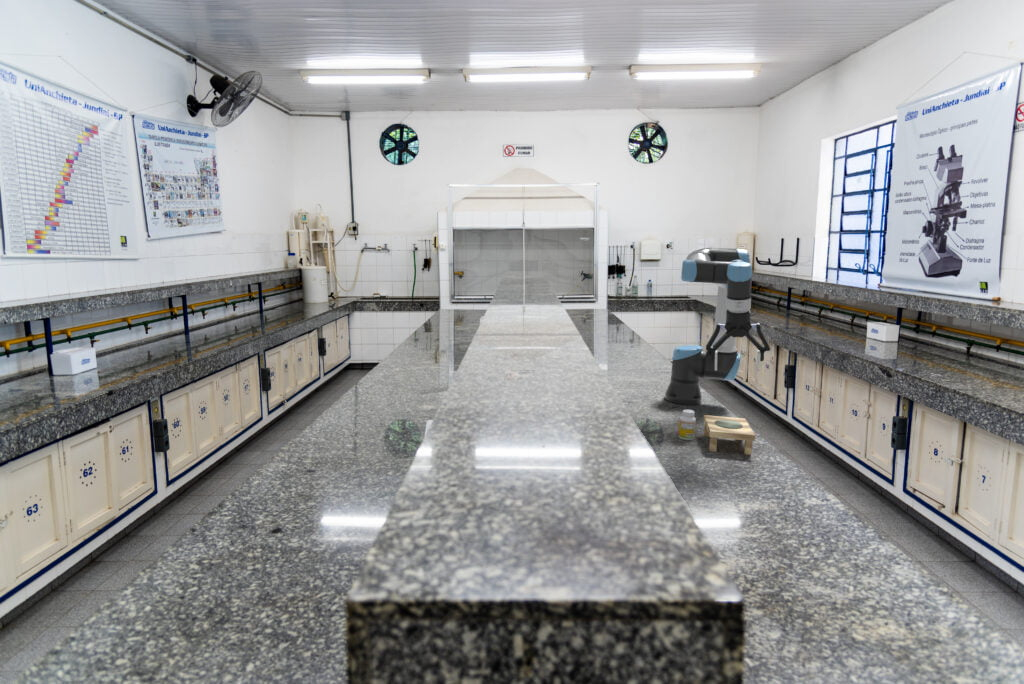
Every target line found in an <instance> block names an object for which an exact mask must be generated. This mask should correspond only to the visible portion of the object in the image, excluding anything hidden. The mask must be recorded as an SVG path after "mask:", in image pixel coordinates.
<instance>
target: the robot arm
mask: <svg viewBox="0 0 1024 684" xmlns="http://www.w3.org/2000/svg"><path fill="white" fill-rule="evenodd" d="M750 256H751V255H750V252H749V251H748V249H747V250H746V249H741V248H727V247H726V248H724V247H720V248H719V247H703V248H699V249H697V250H694V251H692V252H691V253H689V254H688V255H687V256H686V259H684V260H682V265H681V275H680V280H681V281H683V282H688V283H706V284H708V283H709V284H716V285H717V287H718V288H717V297H716V304H715V305H716V306H715V316H714V323H713V324H714V326H713V332H712V335H711V336H710V338H709V340H708V342H707V343H706V345H705V350H704V349H703V347H702V346H701V345H690V344H688V345H681V346H678V347H675V348H674V349H673V351H672V358H671V360H672V363H671V374H670V381H669V383H668V386H667V388H666V390H665V393H664V399H665V400H666V401H668V402H671V403H675V404H678V405H689V406H690V405H691V406H692V405H693V406H694V405H700V404H701V403H702V401H703V398H702V397H703V396H702V391H701V387H700V378H702V379H709V380H720V381H733V380H735V378H736V377H737V375H738V372H739V369H740V365H741V357H742V355H741V353H739V352H738V348H737V347H736V345H735V342H736V338H744V337H746V338H747V340H749V341H750V342H751V343H752V344H753V345H754V347H755V348H756V349H758V350H757V351H756V353H757V354H756V355H757V356H756V370H757V372H760V371H761V362H764V360H765V352H769V351H771V347H770V344H769V342H768V341H767V339H766V337H765V335H764V332H763V331H762V330H761V323H760V322H756V323H751V315H752V314H751V313H752V312H751V310H750V309H751V308H752V281H753V266H752V264H751V257H750ZM752 329H753V330H754V331H756V332H757V334H758V337H759V338H760V340H761V342H762V344H761V343H760V342H759V341H758V340H757V339H756V337H754V336H753V334H752V333H751V332H750V331H751V330H752ZM762 345H763V346H762Z"/></svg>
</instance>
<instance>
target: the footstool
mask: <svg viewBox="0 0 1024 684" xmlns="http://www.w3.org/2000/svg"><path fill="white" fill-rule="evenodd" d="M703 423H704V426H703V427H704V429H703V436H704V437H707V438H709V446H708V451H709V452H717V445H718V438H719V439H729V440H738V441H744V444H743V445H744V446H743V453H744V455H745V454H746V455H747V456H752V450H753V443H754V442H756V434H755V432H754V431H753V429H752V427H751V426H750V424H749V422H748V421H747V419H746V418H741V417H732V416H731V417H730V416H720V415H710V414H709V415H708V414H707V415H706V414H703Z"/></svg>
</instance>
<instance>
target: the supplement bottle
mask: <svg viewBox="0 0 1024 684" xmlns="http://www.w3.org/2000/svg"><path fill="white" fill-rule="evenodd" d="M695 413H696V411H694V410H693V409H683V410H682V415H681V416H680V418H679V423H678V424H679V425H678V439H681V440H683V441H684V440H685V441H692V440H694V439H695V434H696V422H697V419H696V417H695Z"/></svg>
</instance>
